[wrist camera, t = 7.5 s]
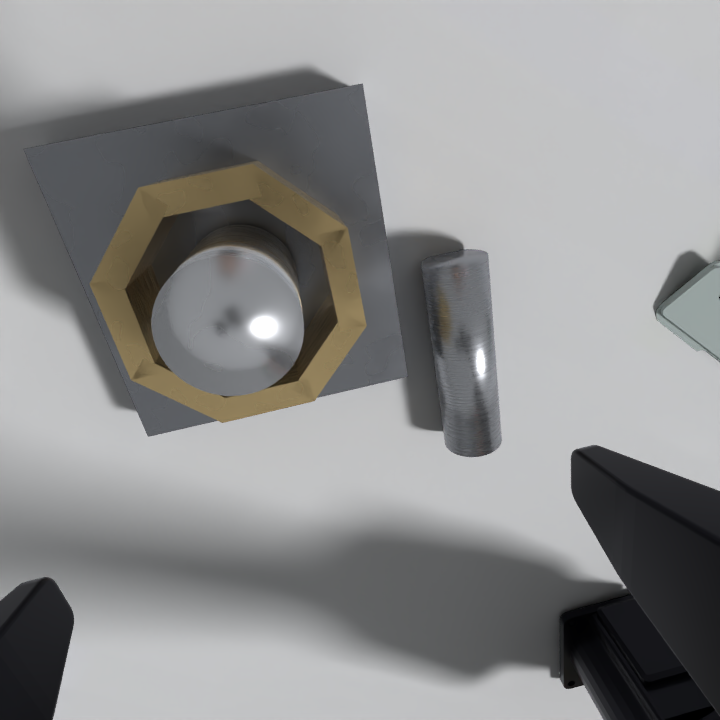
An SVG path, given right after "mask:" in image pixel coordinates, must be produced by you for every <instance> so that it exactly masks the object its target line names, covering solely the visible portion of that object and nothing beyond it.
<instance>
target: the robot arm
mask: <svg viewBox="0 0 720 720" xmlns="http://www.w3.org/2000/svg"><path fill="white" fill-rule="evenodd" d="M571 489H572V494H573V497H574V499H575V501H576V503H577V505H578V507H579V508H580V510H581V512H582V514H583V515H584V517H585V519H586V520H587V522H588V524H589V526H590V527H591V529H592V531H593V533H594V534H595V536H596V538H597V539H598V541H599V543H600V545H601V546H602V548H603V550H604V552H605V553H606V555H607V557H608V559H609V560H610V562H611V564H612V565H613V567H614V569H615V570H616V572H617V574H618V575H619V577H620V579H621V580H622V581H623V583H624V584H625V586H626V587H627V589H628V590H629V592H630V593H631V594H632V595H629V596H625V597H621V598H617V599H614V600H610V601H606V602H603V603H599V604H595V605H591V606H588V607H584V608H580V609H576V610H573V611H569V612H566V613H564V614H563V615H562V616H561V617H560V680H561V682H562V684H563V686H564V687H565V688H566V689H571V688H575V687H578V686H582V685H584V686H585V688H586V689H587V691H588V693H589V695H590V696H591V698H592V700H593V702H594V704H595V705H596V707H597V709H598V711H599V712H600V714H601V716H602V718H603V720H720V491H718V490H715V489H713V488H710V487H707V486H705V485H702V484H699V483H697V482H694V481H691V480H689V479H686V478H683V477H681V476H678V475H675V474H673V473H670V472H667V471H665V470H662V469H659V468H657V467H654V466H651V465H649V464H646V463H643V462H641V461H638V460H635V459H633V458H630V457H627V456H625V455H622V454H619V453H617V452H614V451H611V450H609V449H606V448H603V447H601V446H597V445H592V446H588V447H583V448H579V449H576V450H574V451H573V452H572V455H571ZM73 625H74V615H73V611H72V609H71V607H70V605H69V604H68V602H67V600H66V599H65V597H64V595H63V594H62V592H61V590H60V589H59V587H58V585H57V584H56V582H55V581H54V580H53V579H51V578H49V577H43V578H39V579H35V580H31V581H27V582H24V583H22V584H20V585H19V586H17V587H16V588H15V589H14V590H13V591H11V592H10V593H9V594H8V595H7V596H5V597H4V598H3V599H2V600H1V601H0V720H53V716H54V712H55V708H56V704H57V699H58V694H59V690H60V685H61V681H62V676H63V672H64V667H65V662H66V658H67V653H68V649H69V644H70V640H71V635H72V630H73Z"/></svg>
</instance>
